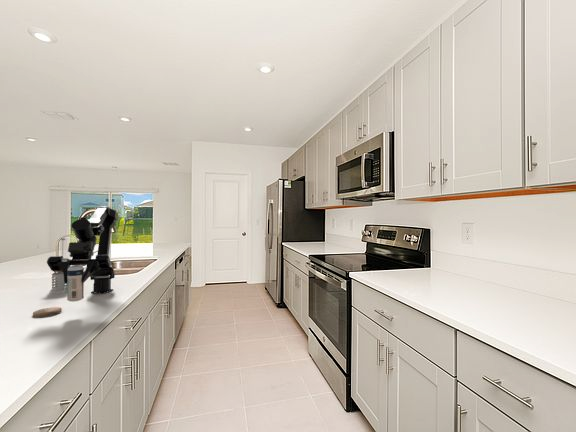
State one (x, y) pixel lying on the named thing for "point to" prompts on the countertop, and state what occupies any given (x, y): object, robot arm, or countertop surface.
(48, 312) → the walnut coaster
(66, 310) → the countertop surface
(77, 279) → the beer can
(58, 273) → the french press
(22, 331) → the countertop surface
